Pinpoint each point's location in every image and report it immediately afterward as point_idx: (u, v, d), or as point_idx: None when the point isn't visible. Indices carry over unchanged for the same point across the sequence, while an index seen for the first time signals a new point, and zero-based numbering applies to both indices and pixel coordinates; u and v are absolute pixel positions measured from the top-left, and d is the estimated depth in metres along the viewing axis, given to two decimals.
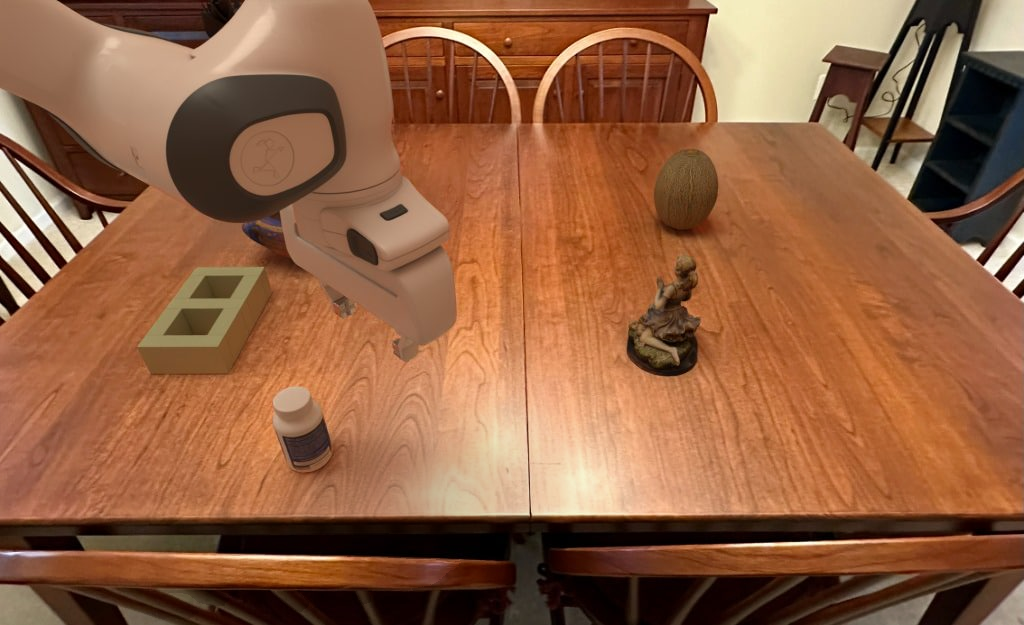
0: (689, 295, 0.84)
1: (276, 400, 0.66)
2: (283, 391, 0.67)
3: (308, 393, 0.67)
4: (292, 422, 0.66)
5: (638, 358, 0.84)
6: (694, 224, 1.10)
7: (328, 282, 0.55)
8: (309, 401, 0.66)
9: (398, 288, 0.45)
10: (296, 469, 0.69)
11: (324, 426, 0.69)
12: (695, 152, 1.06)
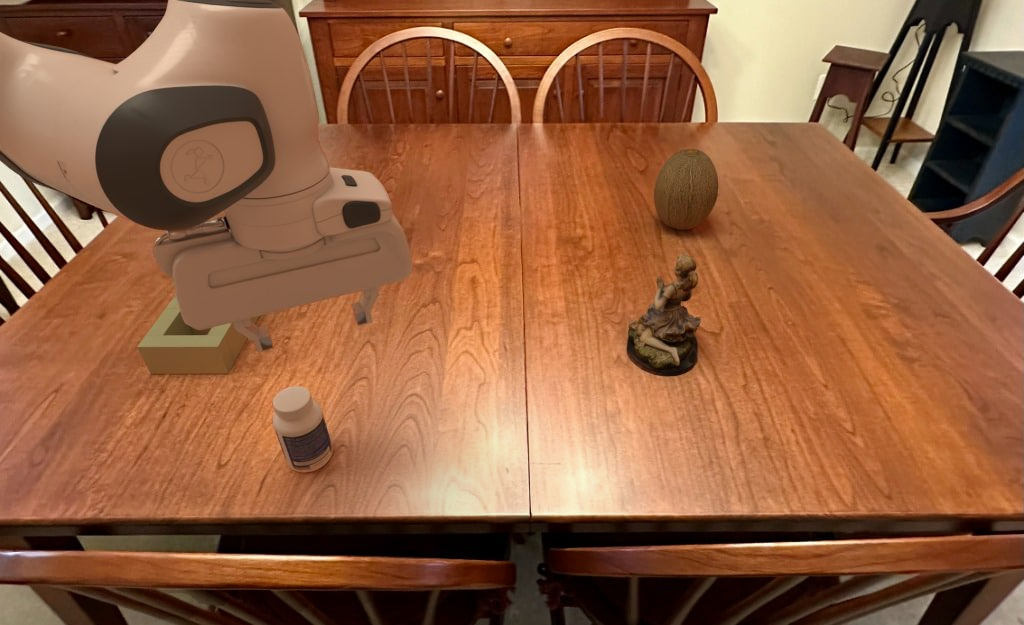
0: (689, 295, 0.84)
1: (276, 400, 0.66)
2: (283, 391, 0.67)
3: (308, 393, 0.67)
4: (292, 421, 0.66)
5: (638, 358, 0.84)
6: (694, 224, 1.10)
7: (271, 307, 0.53)
8: (309, 401, 0.66)
9: (393, 232, 0.53)
10: (296, 469, 0.69)
11: (324, 426, 0.69)
12: (695, 152, 1.06)
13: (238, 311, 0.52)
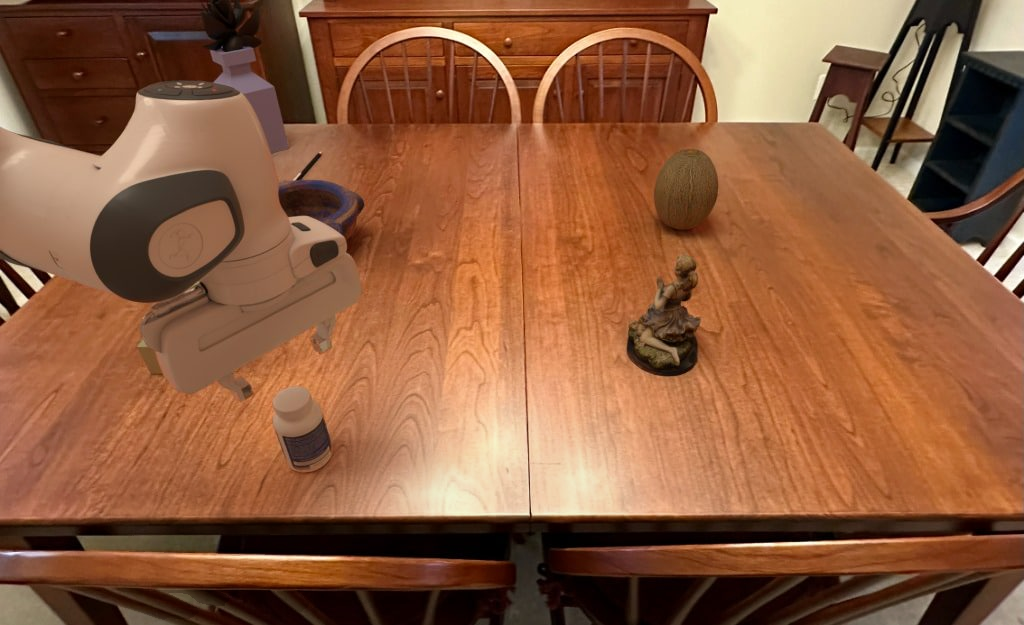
0: (689, 295, 0.84)
1: (276, 400, 0.66)
2: (283, 391, 0.67)
3: (308, 393, 0.67)
4: (292, 421, 0.66)
5: (638, 358, 0.84)
6: (694, 224, 1.10)
7: (253, 356, 0.58)
8: (309, 401, 0.66)
9: (347, 262, 0.61)
10: (296, 469, 0.69)
11: (324, 426, 0.69)
12: (695, 152, 1.06)
13: (225, 367, 0.56)
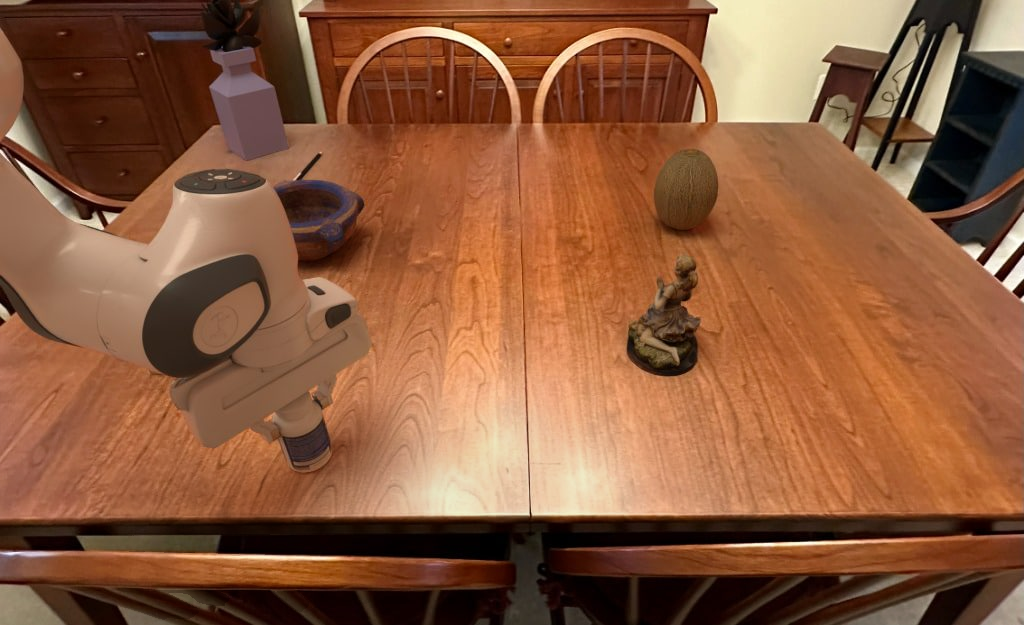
0: (689, 295, 0.84)
1: None
2: None
3: (308, 393, 0.67)
4: (291, 422, 0.66)
5: (638, 358, 0.84)
6: (694, 224, 1.10)
7: (270, 410, 0.62)
8: (309, 401, 0.66)
9: (358, 321, 0.65)
10: (296, 469, 0.69)
11: (324, 426, 0.69)
12: (695, 152, 1.06)
13: (246, 422, 0.60)
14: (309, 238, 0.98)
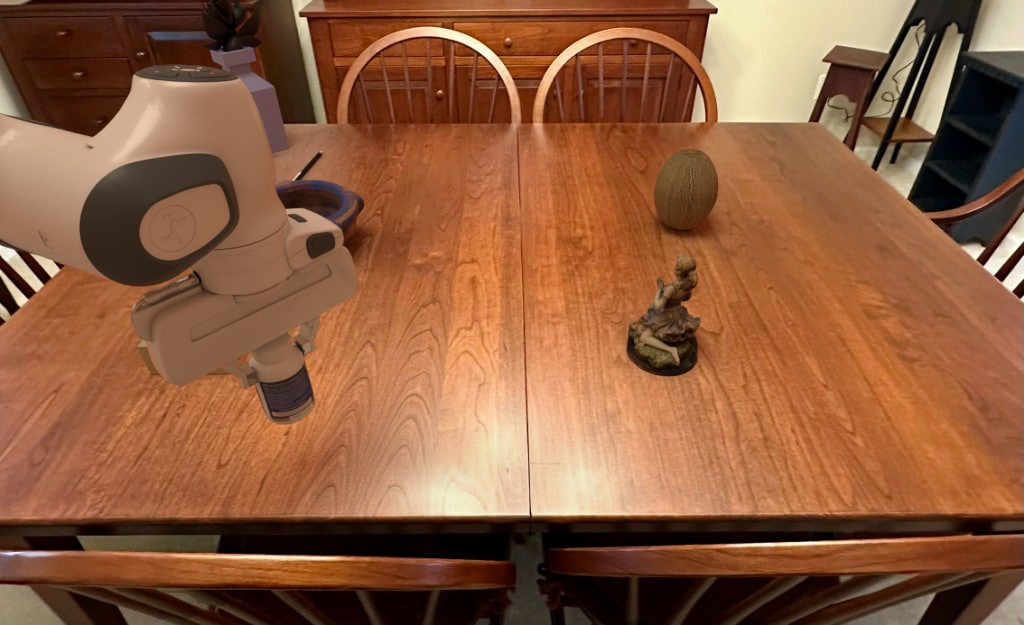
0: (689, 295, 0.84)
1: None
2: None
3: (288, 335, 0.61)
4: (270, 365, 0.60)
5: (638, 358, 0.84)
6: (694, 224, 1.10)
7: (246, 348, 0.57)
8: (289, 343, 0.61)
9: (344, 256, 0.60)
10: (275, 421, 0.64)
11: (306, 374, 0.63)
12: (695, 152, 1.06)
13: (218, 359, 0.55)
14: None
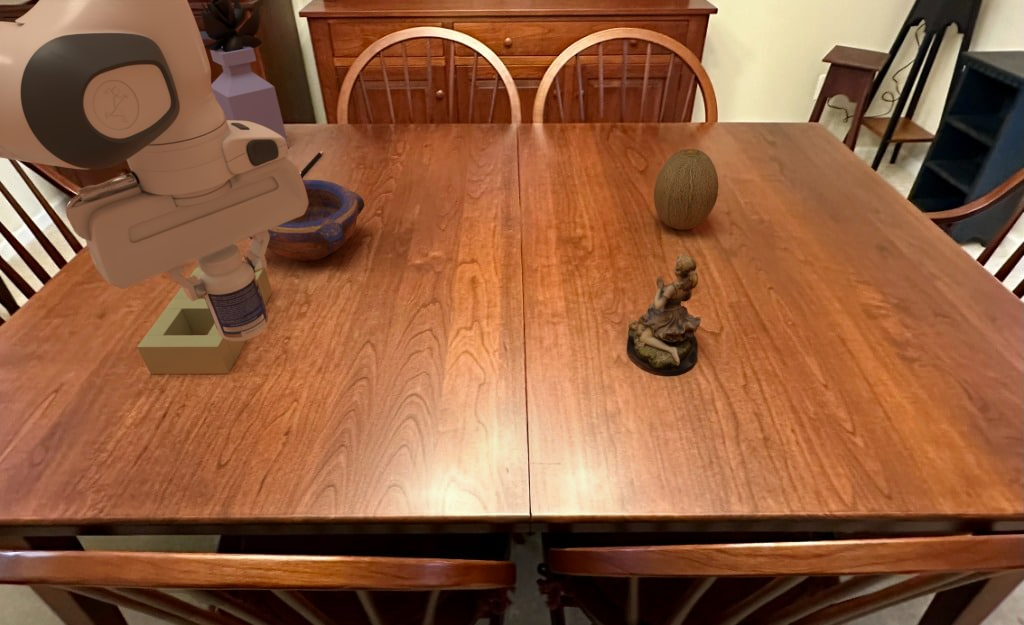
0: (689, 295, 0.84)
1: None
2: None
3: (236, 249, 0.62)
4: (218, 277, 0.61)
5: (638, 358, 0.84)
6: (694, 224, 1.10)
7: (190, 256, 0.57)
8: (237, 256, 0.61)
9: (290, 168, 0.60)
10: (227, 337, 0.65)
11: (256, 289, 0.64)
12: (695, 152, 1.06)
13: (160, 263, 0.55)
14: (309, 238, 0.98)
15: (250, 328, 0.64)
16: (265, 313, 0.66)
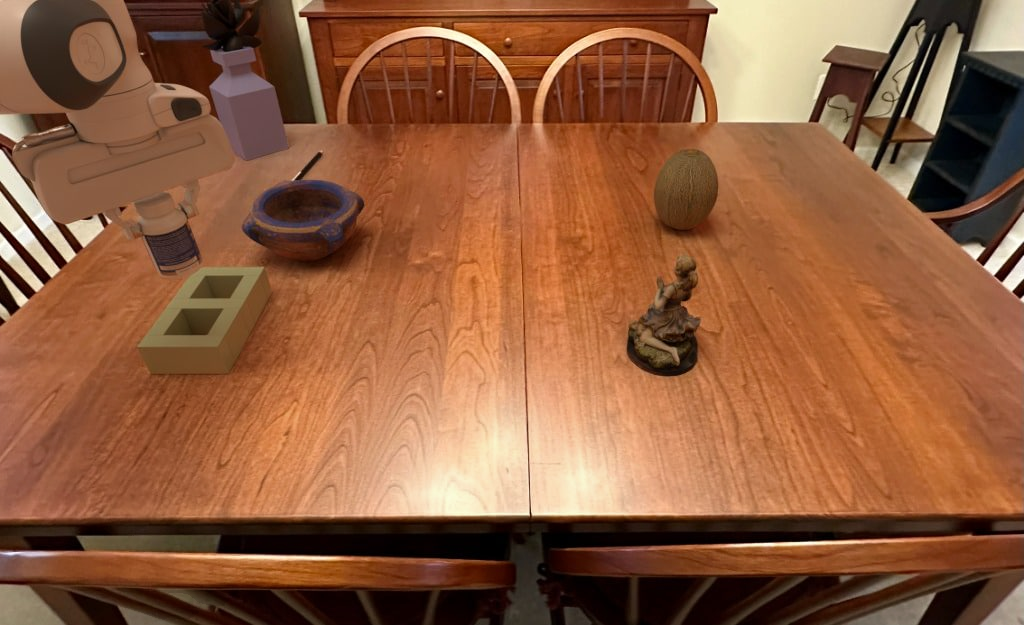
0: (689, 295, 0.84)
1: (137, 200, 0.70)
2: None
3: (169, 196, 0.71)
4: (152, 220, 0.70)
5: (638, 358, 0.84)
6: (694, 224, 1.10)
7: (125, 199, 0.66)
8: (169, 202, 0.70)
9: (214, 125, 0.70)
10: (164, 275, 0.74)
11: (189, 233, 0.73)
12: (695, 152, 1.06)
13: (97, 204, 0.65)
14: (309, 238, 0.98)
15: (184, 267, 0.74)
16: (198, 255, 0.75)
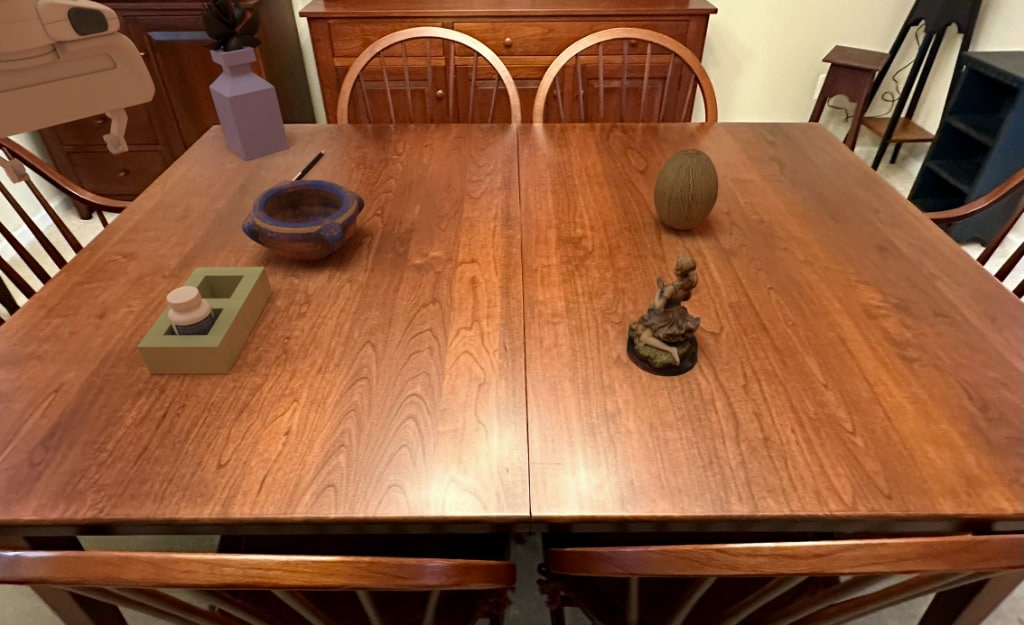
0: (689, 295, 0.84)
1: (169, 295, 0.81)
2: (176, 289, 0.82)
3: (196, 291, 0.82)
4: (182, 313, 0.81)
5: (638, 358, 0.84)
6: (694, 224, 1.10)
7: (17, 127, 0.57)
8: (197, 296, 0.81)
9: (126, 45, 0.60)
10: None
11: (213, 320, 0.84)
12: (695, 152, 1.06)
13: None
14: (309, 238, 0.98)
15: None
16: None
